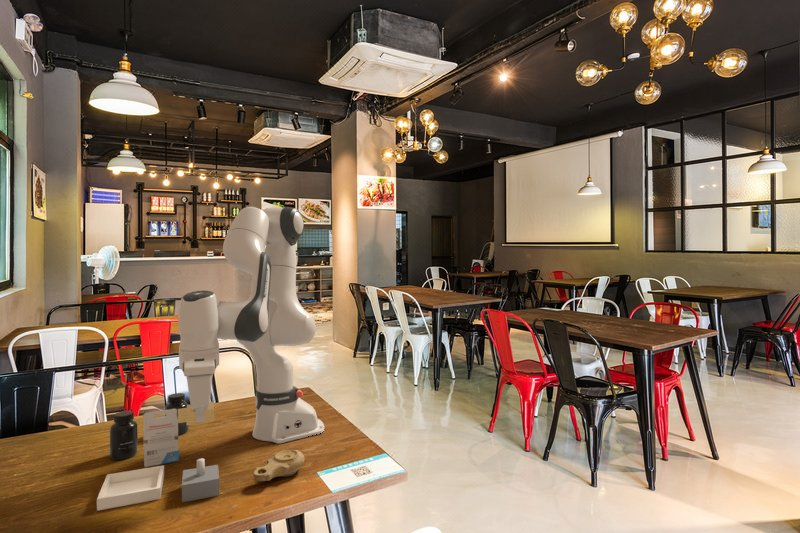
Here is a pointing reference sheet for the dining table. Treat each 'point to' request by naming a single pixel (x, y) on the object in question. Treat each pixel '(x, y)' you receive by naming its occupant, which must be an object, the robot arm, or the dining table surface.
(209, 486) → the grey pegged cube
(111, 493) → the tray
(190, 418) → the tan square frame block
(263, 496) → the dining table surface
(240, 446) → the dining table surface
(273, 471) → the oil lamp
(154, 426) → the ink box
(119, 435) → the supplement bottle
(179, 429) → the supplement bottle
